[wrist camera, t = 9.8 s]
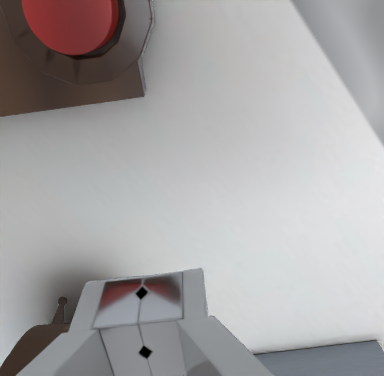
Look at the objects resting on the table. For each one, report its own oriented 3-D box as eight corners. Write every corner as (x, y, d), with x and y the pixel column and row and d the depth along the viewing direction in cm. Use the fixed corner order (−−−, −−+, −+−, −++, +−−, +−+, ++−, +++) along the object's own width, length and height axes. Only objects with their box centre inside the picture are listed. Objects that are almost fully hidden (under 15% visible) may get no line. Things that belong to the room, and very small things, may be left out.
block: (-19, 114, 20) (-55, 131, 17) (-95, -71, 16) (-160, -92, 13) (168, 87, 20) (166, 100, 17) (137, -107, 16) (126, -138, 13)
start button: (51, 57, 16) (38, 61, 15) (25, -33, 15) (6, -39, 13) (126, 45, 16) (120, 48, 15) (108, -46, 14) (99, -53, 13)
